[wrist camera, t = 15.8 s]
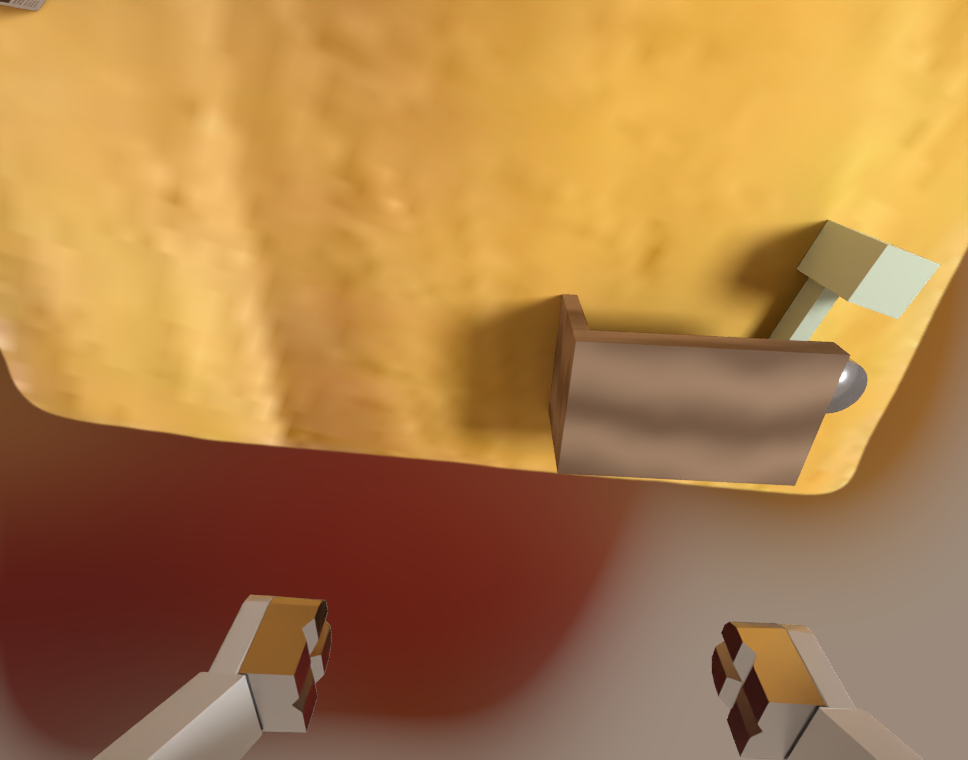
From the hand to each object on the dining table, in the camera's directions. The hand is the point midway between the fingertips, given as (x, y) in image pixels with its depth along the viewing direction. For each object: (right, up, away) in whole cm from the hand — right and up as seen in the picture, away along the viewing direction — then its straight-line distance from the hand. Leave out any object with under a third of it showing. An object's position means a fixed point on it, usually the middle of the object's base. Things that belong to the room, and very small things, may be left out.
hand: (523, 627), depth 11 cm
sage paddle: (+24, +10, +33) cm, 42 cm away
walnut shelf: (+14, +7, +35) cm, 38 cm away
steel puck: (+29, +5, +35) cm, 46 cm away
